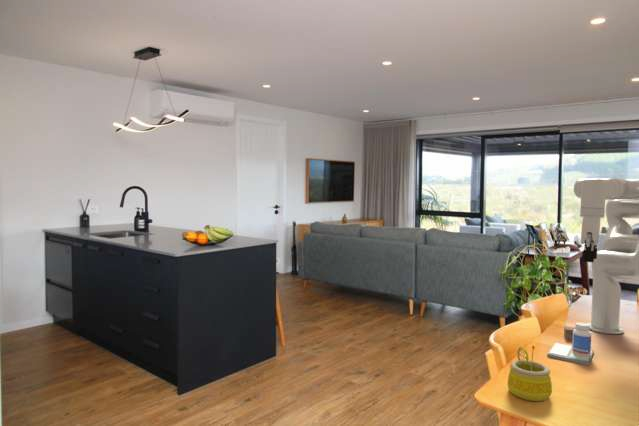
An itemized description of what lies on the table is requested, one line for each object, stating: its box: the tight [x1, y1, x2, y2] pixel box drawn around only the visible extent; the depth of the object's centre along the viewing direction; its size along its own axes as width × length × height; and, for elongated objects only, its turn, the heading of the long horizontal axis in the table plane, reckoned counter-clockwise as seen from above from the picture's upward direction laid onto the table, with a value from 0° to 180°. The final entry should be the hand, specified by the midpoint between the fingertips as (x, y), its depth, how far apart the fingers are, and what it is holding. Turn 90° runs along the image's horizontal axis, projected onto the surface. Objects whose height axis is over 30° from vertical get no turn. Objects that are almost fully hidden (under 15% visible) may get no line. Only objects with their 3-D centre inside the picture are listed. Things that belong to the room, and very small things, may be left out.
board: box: [546, 342, 595, 366], centre depth 155 cm, size 14×12×1 cm
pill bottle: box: [571, 322, 592, 355], centre depth 153 cm, size 6×5×10 cm
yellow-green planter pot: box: [507, 345, 553, 402], centre depth 125 cm, size 13×11×12 cm
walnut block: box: [563, 325, 576, 341], centre depth 172 cm, size 4×4×4 cm
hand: (589, 260), depth 166 cm, fingers open, 9 cm apart
